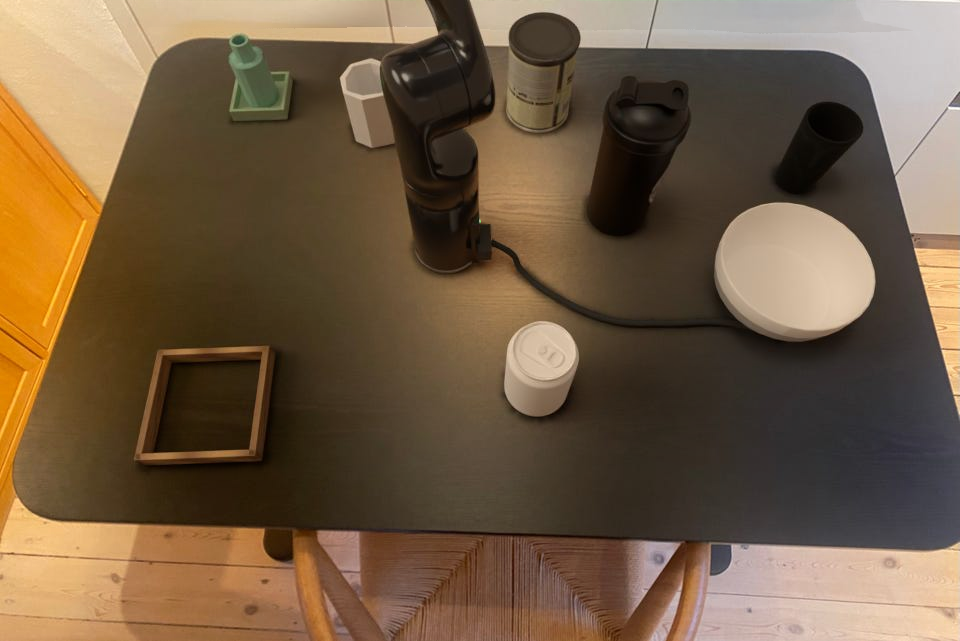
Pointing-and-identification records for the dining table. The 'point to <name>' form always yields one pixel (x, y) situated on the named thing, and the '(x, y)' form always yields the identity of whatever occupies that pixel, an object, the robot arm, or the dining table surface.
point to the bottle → (252, 72)
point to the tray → (276, 112)
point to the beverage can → (540, 368)
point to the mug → (367, 104)
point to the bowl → (792, 272)
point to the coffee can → (541, 70)
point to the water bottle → (636, 151)
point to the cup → (817, 145)
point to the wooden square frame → (158, 395)
